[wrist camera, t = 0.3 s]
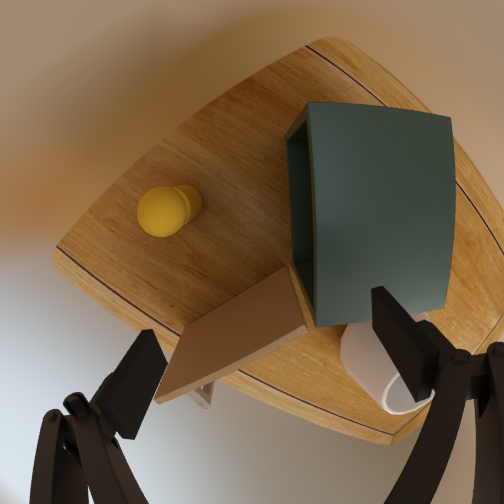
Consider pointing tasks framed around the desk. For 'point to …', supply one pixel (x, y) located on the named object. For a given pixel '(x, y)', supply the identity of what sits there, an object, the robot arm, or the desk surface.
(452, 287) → the desk surface
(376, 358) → the white tapered cylinder
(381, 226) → the cabinet
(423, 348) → the robot arm
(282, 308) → the cabinet door
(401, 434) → the desk surface
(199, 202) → the toy
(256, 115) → the desk surface
